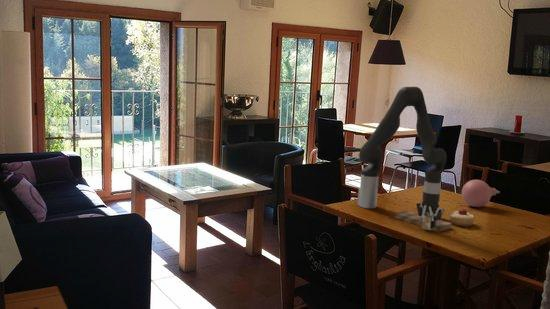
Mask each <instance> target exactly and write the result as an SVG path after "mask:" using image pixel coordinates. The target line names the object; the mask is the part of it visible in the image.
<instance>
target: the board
mask: <svg viewBox="0 0 550 309" xmlns="http://www.w3.org/2000/svg"><path fill="white" fill-rule="evenodd" d="M393 218H394V219H396V220H399V221H404V222H406V223H410V224H413V225H415V226H419V227H422V224H421V222H422V217H421V216H419V215H418V212H414V211H410V210H402V211H398V212H394V217H393ZM452 225H453V224H452V223H451V222H450V221H445V220H442V219H440V220H437V221H436V224H435V227H434V229H432V230H431V231H436V232H438V233H440V232H444V231H447V230H450V229H452V227H453V226H452Z"/></svg>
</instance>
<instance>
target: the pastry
mask: <svg viewBox="0 0 550 309" xmlns="http://www.w3.org/2000/svg"><path fill="white" fill-rule="evenodd" d="M457 208H459V206H458V207H456V209H457ZM460 208H461V209H460V210H456V211H455V210H454V211H451V212H450V213H449V215H448V216H449V223H452V225H454V226H456V227H463V228H464V227H465V228H469V227H472V225H473V224H474V222H475V216H474V214H471V213H469V212H468V210H467V209H464V208H463V207H461V206H460Z"/></svg>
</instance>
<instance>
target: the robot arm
mask: <svg viewBox="0 0 550 309" xmlns="http://www.w3.org/2000/svg"><path fill="white" fill-rule="evenodd" d="M407 107H413V108H414V109H415V112H416V125H415V126H416V133H417V136H418V139H419V141H420V143H421V151H422V152H421V153H422V157H423V158H422V159H423V160H424V162H426V164H428V165H430V166H431V167H429V168H427V169H426V170H425V173H424V174H425V176H424V183H423V189H422V197H421V198H422V199H421V200H422V202H417V203H416V209H417V213H418V215H419V216H421V217H422V220H423V216H424V215H427V214H428V213H430V216H431V220H432V221H431V227H430V228H431V229H433V228H434V227H435V224H436V221H437V220H442V219H441V218H442V216H443V213H444V212H445V209H444V208H441V207H440V205H439V202H440V199H441V198H440V195H441V186H442V185H441V182H442V181H441V180H442V173H443V170H444V168H445V165H446V163H447V153H446V151H445V150H444V149H443V148H440V147H439V148H437V147H436V148H434V145H435V144H436V143H437V136H436V134H435V132H434V130H433V127H432V125H431V121H430V118H429V114H428V108H427V105H426V100H425V97H424V93H423V91H422V89H421V88H420V87H418V86H404V87H403V86H402V87H401V88H399V89H398V91H397V93H396V95H395V97H394V98H393V101H392V102H391V104H390V106H389V108H388V110H387V111H386V112H385V114H384V116H383V118H382V119H381V120H380V122H379V124H378V125H377V127H376V129H375V130H374V131H373V132H372V134H371V135H370V137H369V138H368V139H367V140H366V142H365V143H363V145H362V146H361V148H360V150H359V153H358V158H359V161H361V162H362V163H364V164H368V165H367V166H366V167H364V168H362V169H361V172H360V173H361V175H360V186H359V187H358V193H357V194H358V195H357V206H359V207H360V208H363V209H376V208H377V201H378V189H379V178H380V177H379V175H380V172H381V169H382V161H383V150H382V148H381V146H382V145H383V144H385V143H386V142H388V141H389V140H390V139H392V138H393V137H394V135H395V134H396V132H398V130H399V128H400V125H401V114H402V113H403V111H404V110H405V108H407ZM423 208H424V209H423ZM433 213H434V214H433ZM421 224H422V222H421Z"/></svg>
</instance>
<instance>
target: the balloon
mask: <svg viewBox="0 0 550 309" xmlns="http://www.w3.org/2000/svg"><path fill="white" fill-rule="evenodd" d="M500 193H501V191H499V190H497V189H496V188H495V187H491V186H489V184H488V183H486V181H484V180H481V179H472V180H469V181H466V183H465V184H464V185H463V187H462V189H461V198H462V200H463V201H464V203H465V204H467V205H468V206H470V207H473V208H481V207H484V206H486V205H487V204H488V203H489V201H490V200H491V199H492V198H491V197H492V196H496V195H497V194H500Z"/></svg>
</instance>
